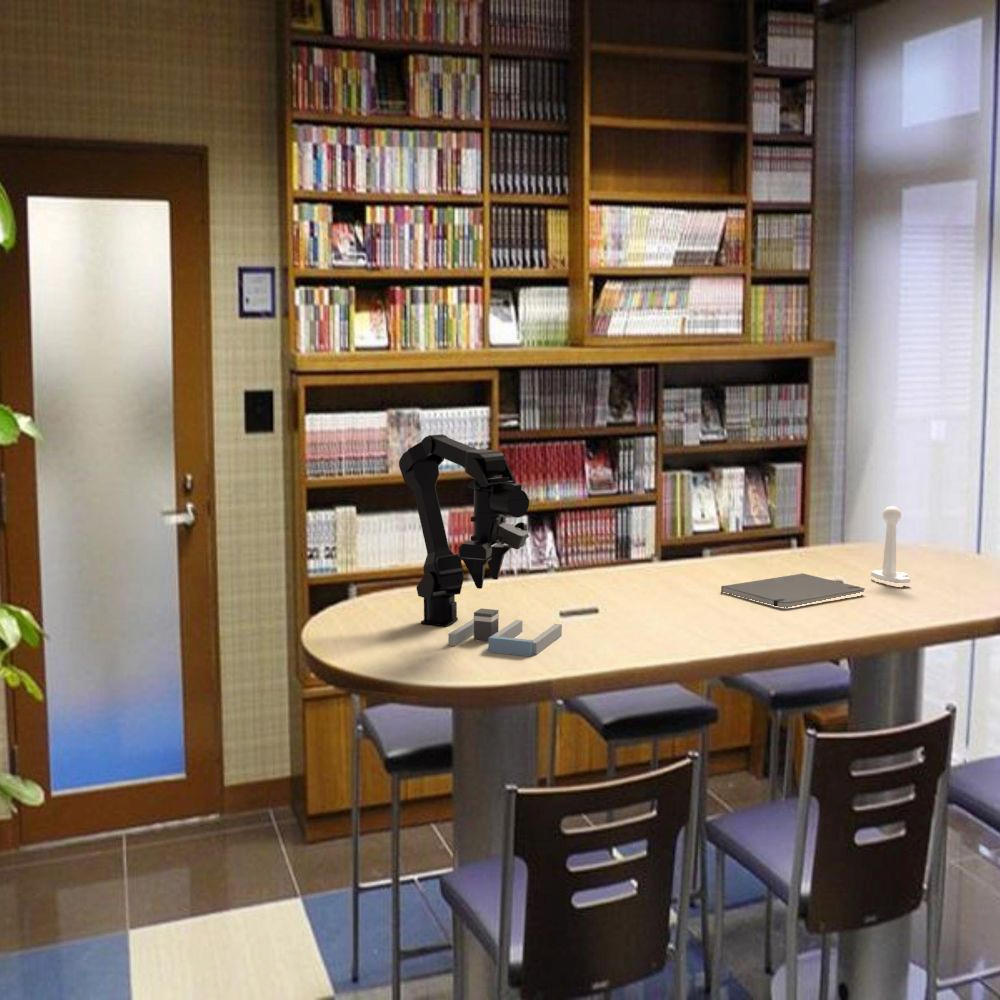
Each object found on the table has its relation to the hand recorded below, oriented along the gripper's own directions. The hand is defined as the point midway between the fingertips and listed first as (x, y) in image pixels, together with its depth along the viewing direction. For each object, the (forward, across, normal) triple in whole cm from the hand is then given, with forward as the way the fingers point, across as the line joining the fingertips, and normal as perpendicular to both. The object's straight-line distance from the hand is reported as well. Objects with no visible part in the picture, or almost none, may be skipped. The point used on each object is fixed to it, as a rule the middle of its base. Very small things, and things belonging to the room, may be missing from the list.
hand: (487, 583), depth 258 cm
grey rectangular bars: (+12, 0, -4) cm, 13 cm away
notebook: (+12, +65, -56) cm, 86 cm away
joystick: (+12, +86, -78) cm, 117 cm away
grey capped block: (+12, 0, 0) cm, 12 cm away
